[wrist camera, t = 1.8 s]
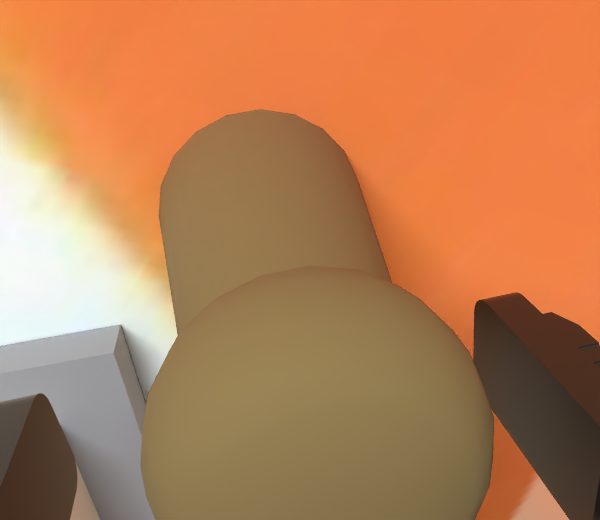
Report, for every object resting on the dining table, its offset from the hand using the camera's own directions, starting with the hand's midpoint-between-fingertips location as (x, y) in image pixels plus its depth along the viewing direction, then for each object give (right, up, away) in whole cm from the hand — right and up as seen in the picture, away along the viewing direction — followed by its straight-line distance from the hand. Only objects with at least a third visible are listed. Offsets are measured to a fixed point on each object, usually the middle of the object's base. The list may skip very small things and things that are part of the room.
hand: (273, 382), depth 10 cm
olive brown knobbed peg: (-1, +4, +6) cm, 8 cm away
